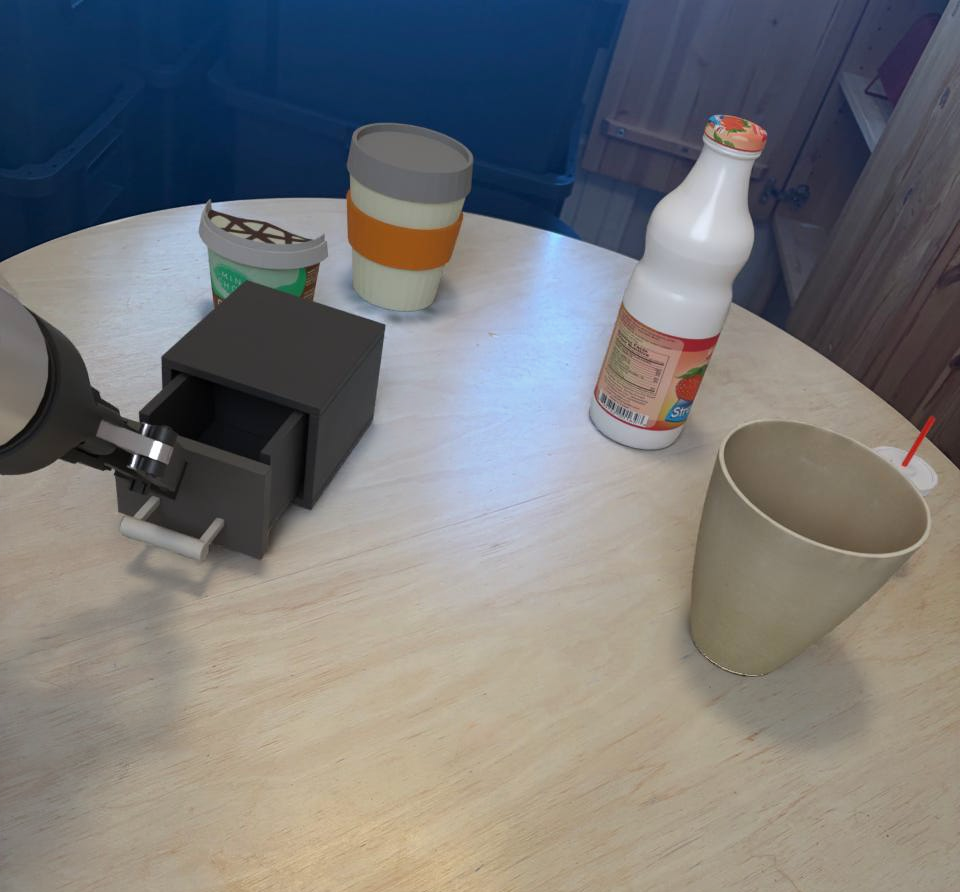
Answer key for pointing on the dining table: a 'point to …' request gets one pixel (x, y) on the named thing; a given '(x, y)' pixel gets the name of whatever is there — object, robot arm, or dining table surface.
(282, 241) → the food container
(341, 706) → the dining table surface
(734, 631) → the plant pot
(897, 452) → the beverage cup
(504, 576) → the dining table surface
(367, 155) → the reusable coffee cup
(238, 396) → the drawer
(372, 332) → the cabinet
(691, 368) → the fruit juice
